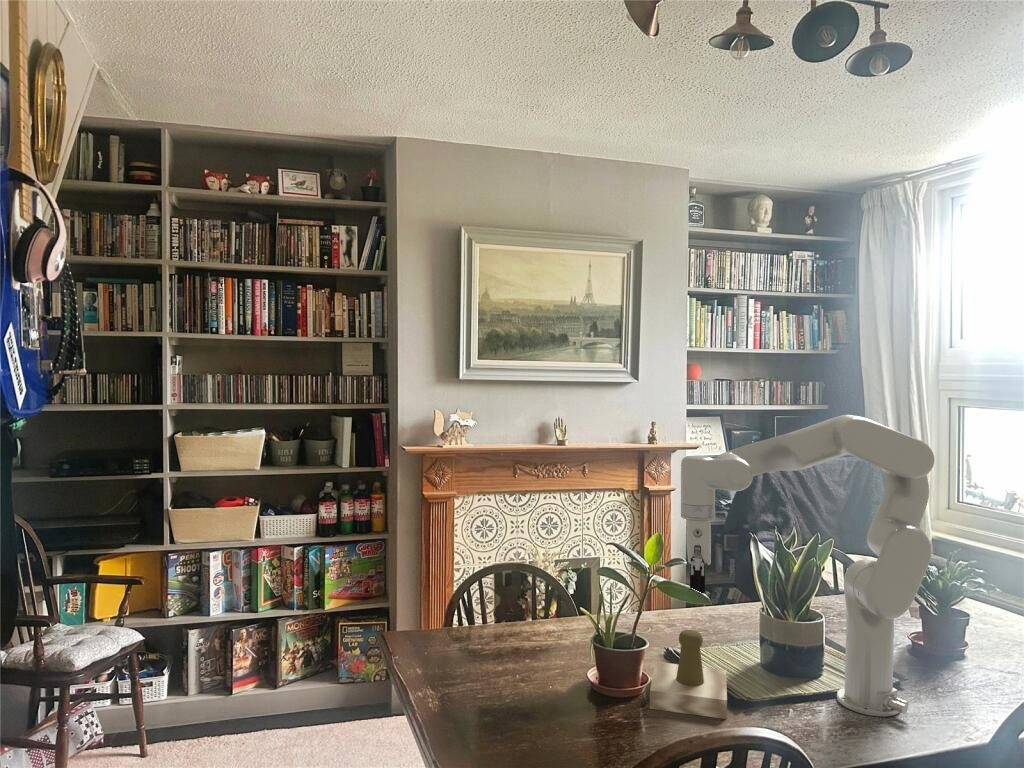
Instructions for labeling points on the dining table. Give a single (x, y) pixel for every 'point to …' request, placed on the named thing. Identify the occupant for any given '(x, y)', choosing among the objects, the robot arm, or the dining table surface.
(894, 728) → the dining table surface
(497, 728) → the dining table surface
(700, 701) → the birch base
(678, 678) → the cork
